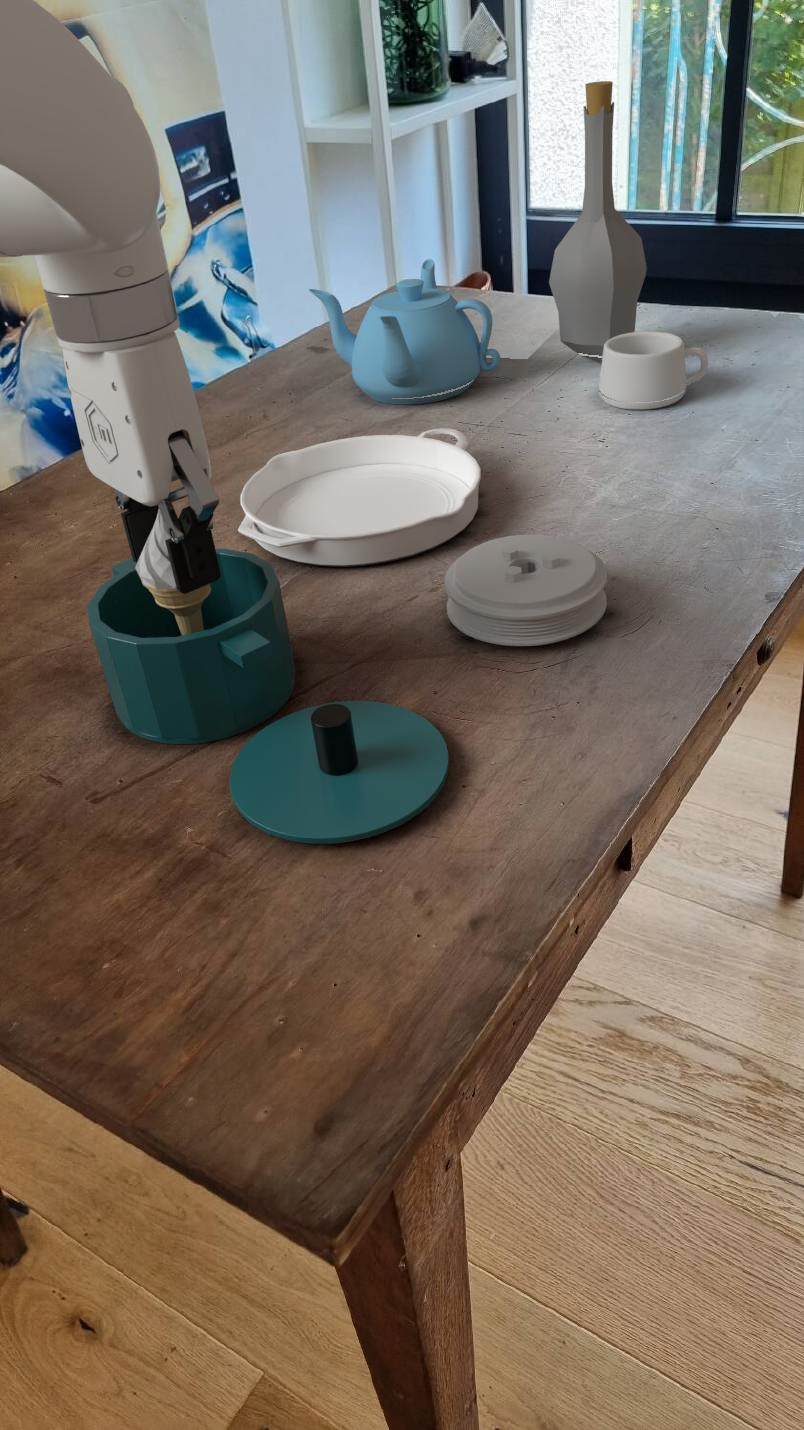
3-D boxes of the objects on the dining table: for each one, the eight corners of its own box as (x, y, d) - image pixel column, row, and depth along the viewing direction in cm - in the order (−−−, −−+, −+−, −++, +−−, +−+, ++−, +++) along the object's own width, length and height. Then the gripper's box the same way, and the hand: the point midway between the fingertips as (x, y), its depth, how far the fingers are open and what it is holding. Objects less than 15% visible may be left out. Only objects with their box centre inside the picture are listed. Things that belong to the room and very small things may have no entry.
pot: (191, 786, 75) (163, 682, 70) (72, 679, 87) (41, 585, 83) (352, 702, 81) (336, 601, 76) (218, 613, 94) (198, 522, 89)
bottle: (645, 375, 130) (654, 85, 113) (549, 379, 133) (543, 95, 115) (643, 345, 139) (651, 72, 122) (553, 349, 142) (548, 81, 124)
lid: (491, 565, 96) (488, 512, 93) (630, 591, 90) (631, 535, 87) (419, 637, 87) (413, 582, 85) (567, 670, 82) (566, 612, 79)
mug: (604, 415, 121) (604, 361, 118) (594, 385, 129) (594, 333, 126) (715, 406, 121) (719, 350, 117) (698, 376, 128) (701, 324, 125)
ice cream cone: (256, 679, 84) (218, 495, 75) (198, 714, 81) (151, 527, 72) (210, 656, 87) (168, 478, 78) (153, 689, 84) (103, 508, 75)
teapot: (317, 389, 138) (302, 288, 131) (437, 351, 146) (429, 252, 138) (394, 423, 126) (383, 313, 119) (521, 379, 134) (517, 273, 126)
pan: (179, 538, 107) (170, 500, 104) (374, 442, 122) (370, 407, 119) (358, 609, 92) (352, 566, 90) (554, 490, 107) (553, 451, 105)
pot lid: (314, 886, 66) (301, 821, 63) (192, 778, 75) (176, 717, 73) (495, 775, 73) (491, 711, 70) (361, 689, 82) (353, 630, 79)
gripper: (2, 303, 72) (76, 553, 82) (123, 351, 60) (191, 634, 71) (106, 276, 75) (164, 519, 86) (239, 316, 64) (288, 591, 74)
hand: (176, 568), depth 78 cm, fingers closed on ice cream cone, 5 cm apart
